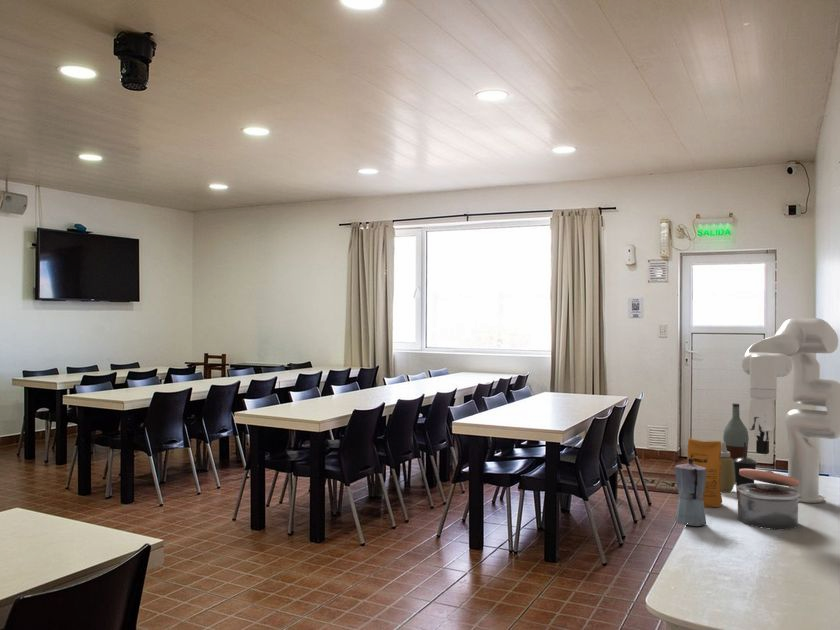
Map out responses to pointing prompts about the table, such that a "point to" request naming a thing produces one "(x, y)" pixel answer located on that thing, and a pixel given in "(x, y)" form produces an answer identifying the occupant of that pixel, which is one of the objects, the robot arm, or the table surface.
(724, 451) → the squeeze bottle
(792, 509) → the cooker pot
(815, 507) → the table surface
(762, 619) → the table surface
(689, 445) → the coffee package
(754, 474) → the lid
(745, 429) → the green wine bottle
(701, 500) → the moka pot
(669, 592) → the table surface
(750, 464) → the drinking cup
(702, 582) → the table surface
